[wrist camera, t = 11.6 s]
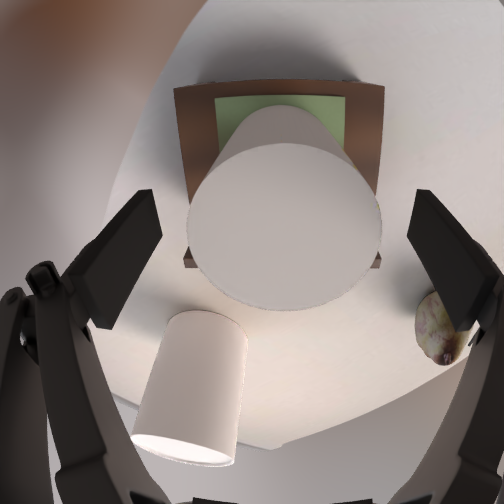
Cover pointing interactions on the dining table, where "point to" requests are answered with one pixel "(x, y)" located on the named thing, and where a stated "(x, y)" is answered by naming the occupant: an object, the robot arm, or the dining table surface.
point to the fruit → (438, 332)
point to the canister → (194, 391)
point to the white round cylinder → (283, 215)
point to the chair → (269, 94)
